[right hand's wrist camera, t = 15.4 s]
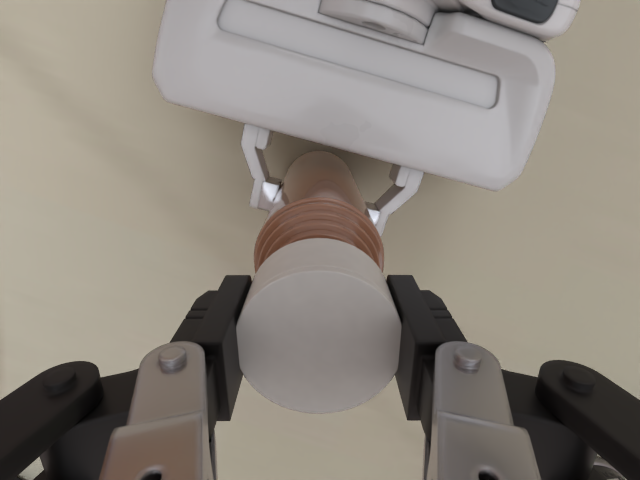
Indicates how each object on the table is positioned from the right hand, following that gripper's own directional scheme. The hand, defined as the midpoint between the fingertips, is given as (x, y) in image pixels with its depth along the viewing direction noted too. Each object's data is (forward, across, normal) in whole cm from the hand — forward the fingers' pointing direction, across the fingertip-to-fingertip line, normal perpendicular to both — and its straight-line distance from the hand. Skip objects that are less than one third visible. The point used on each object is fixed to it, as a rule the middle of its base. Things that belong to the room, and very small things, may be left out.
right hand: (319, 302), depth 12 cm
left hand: (+12, 0, -1) cm, 12 cm away
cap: (-2, 0, 0) cm, 2 cm away
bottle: (+18, 0, 0) cm, 18 cm away
